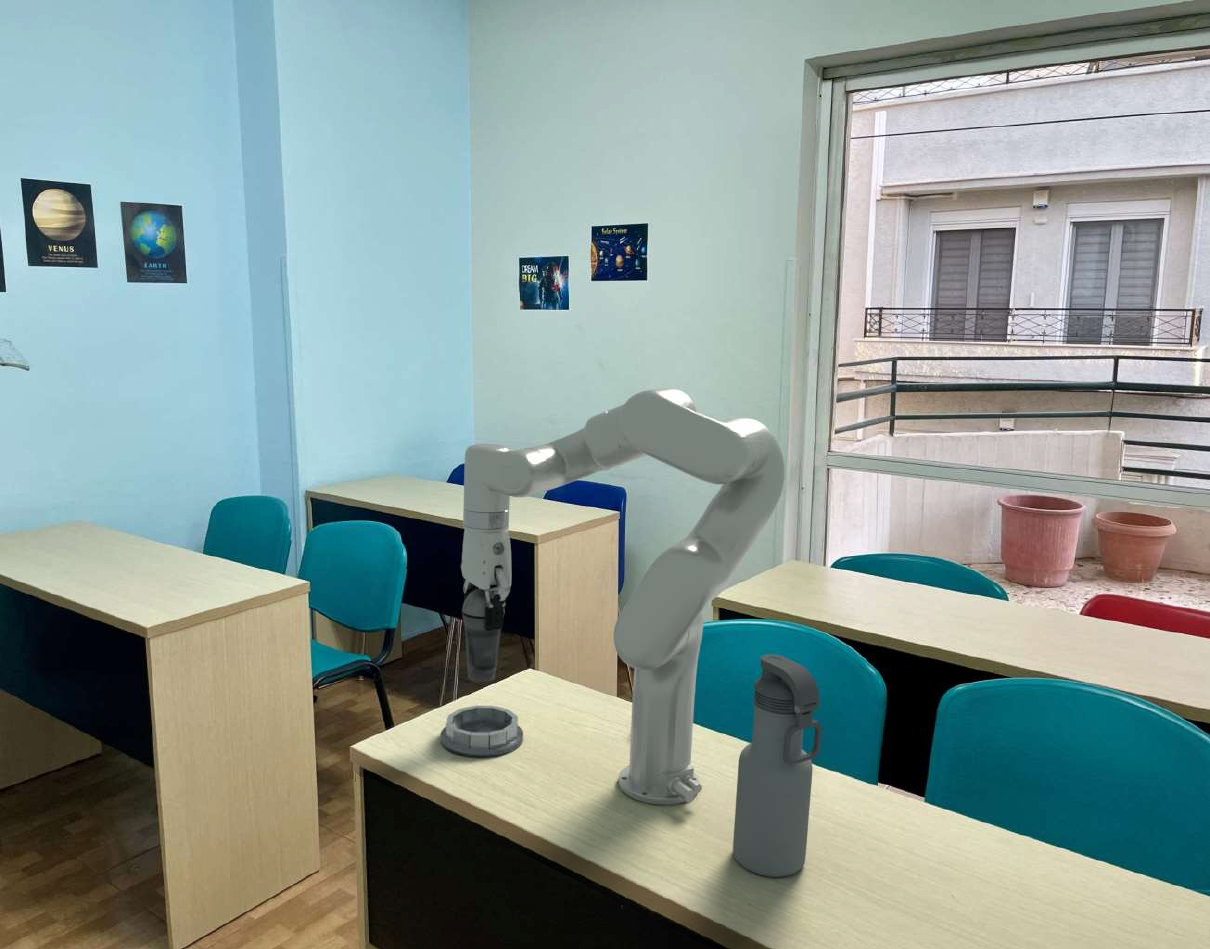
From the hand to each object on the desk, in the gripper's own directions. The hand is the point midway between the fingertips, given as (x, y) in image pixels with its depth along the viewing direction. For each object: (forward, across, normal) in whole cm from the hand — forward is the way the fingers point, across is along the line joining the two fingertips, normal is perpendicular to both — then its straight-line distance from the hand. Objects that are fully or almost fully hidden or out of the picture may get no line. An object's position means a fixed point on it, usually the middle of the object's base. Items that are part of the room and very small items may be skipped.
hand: (483, 621), depth 157 cm
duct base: (+21, 0, 0) cm, 21 cm away
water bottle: (+21, -52, -18) cm, 59 cm away
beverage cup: (+10, 0, 0) cm, 10 cm away
